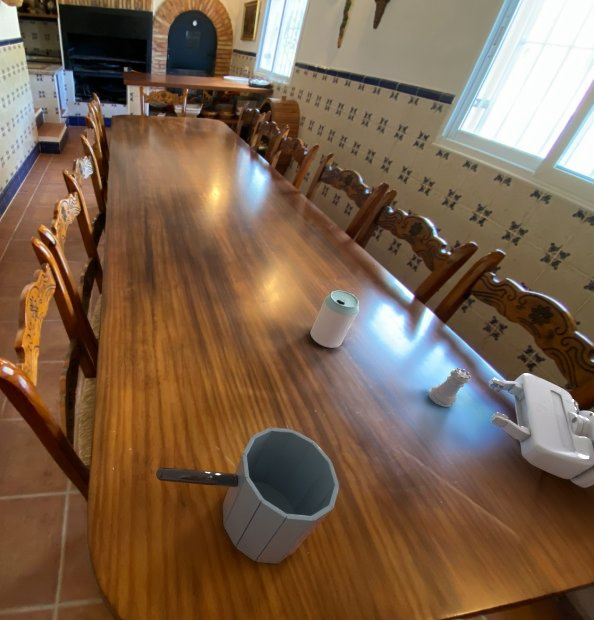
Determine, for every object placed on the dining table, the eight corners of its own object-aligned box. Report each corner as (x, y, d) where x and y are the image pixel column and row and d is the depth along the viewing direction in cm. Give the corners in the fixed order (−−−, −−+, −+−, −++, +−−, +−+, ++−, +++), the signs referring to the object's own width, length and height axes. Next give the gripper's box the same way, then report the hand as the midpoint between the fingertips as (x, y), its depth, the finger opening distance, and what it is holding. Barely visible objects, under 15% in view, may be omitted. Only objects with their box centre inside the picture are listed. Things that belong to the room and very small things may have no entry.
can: (343, 352, 80) (366, 311, 72) (311, 346, 81) (330, 305, 73) (337, 331, 85) (358, 291, 78) (307, 326, 86) (325, 285, 78)
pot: (290, 483, 56) (323, 432, 47) (306, 566, 48) (351, 524, 38) (156, 471, 56) (161, 417, 47) (149, 552, 48) (153, 506, 38)
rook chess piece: (432, 386, 74) (454, 360, 69) (455, 400, 71) (480, 374, 66) (423, 396, 72) (446, 370, 66) (447, 412, 69) (472, 386, 64)
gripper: (588, 387, 66) (499, 353, 71) (621, 478, 52) (507, 428, 57) (562, 407, 70) (479, 374, 75) (585, 497, 56) (482, 449, 61)
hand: (491, 398), depth 66 cm, fingers open, 8 cm apart
